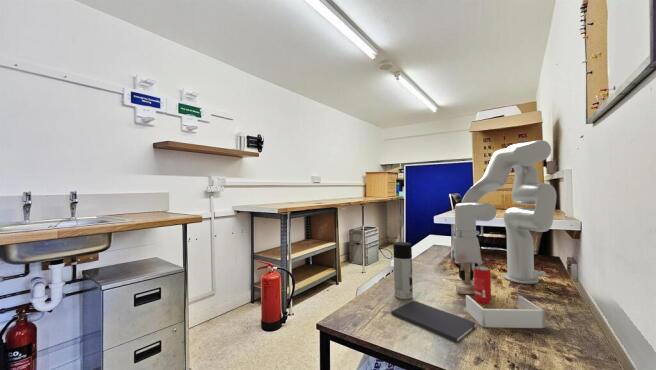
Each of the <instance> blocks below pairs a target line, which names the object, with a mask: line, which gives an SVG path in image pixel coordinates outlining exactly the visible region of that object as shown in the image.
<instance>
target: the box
mask: <svg viewBox="0 0 656 370" xmlns="http://www.w3.org/2000/svg"><path fill="white" fill-rule="evenodd" d="M517 301H518V302H517V303H518V305H517V306H518V309H517V308H483V307H482V306H481V304H480V303H478V302H476V300H475V299H473V298H472V297H471V296H470V294H465V311H466V312H467V313H468V314H469V315H470V316H471V317H472V318H473V320H475V321H476V323H478V324H479V325H480V326H481V327H482V328H502V329H503V328H504V329H505V328H506V329H507V328H508V329H509V328H510V329H511V328H512V329H515V328H516V329H517V328H518V329H519V328H520V329H546V310H545V309H543V308H541V307H539V306H538V305H536V304H534V303H533V302H531V301H530V300H528V299H527V298H525V297H523V296H522V295H517Z"/></svg>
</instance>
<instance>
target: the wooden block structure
mask: <svg viewBox="0 0 656 370" xmlns="http://www.w3.org/2000/svg"><path fill="white" fill-rule="evenodd" d="M463 269H464V271H465V281H463V280H462V279H460V284H455V291H456V293H457V294H461V295H462V294H463V295H464V294H465V295H471V294H472V295H474V283H472V282H471V280H470V263H464V267H463Z"/></svg>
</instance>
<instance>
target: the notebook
mask: <svg viewBox="0 0 656 370" xmlns="http://www.w3.org/2000/svg"><path fill="white" fill-rule="evenodd" d="M390 313H391V316H394V317H396V318H399V319H401V320H404V321H406V322H409V323H410V324H413V325H415V326H418V327H419V328H422V329H424V330H427V331H428V332H431V333H434V334H437V336H441V337H444V338H445V339H448V340H450V341H452V342H455V343H458V341H460V340H461V339H462V338H464V337H465V336H466V335H467V334H468V333H470V332H471V331H472V330H474V329H475V327H476V324H477V322H475V321H472V320H470V319H467V318H464V317H461V316H459V315H456V314H453V313H450V312H447V311H444V310H441V309H439V308H436V307H433V306H430V305H428V304H426V303H425V304H424V303H422V302H419V301H416V300H411V301H409V302H407V303H406V304H403V305H401V306H399V307H397V308H395V309H393V310H391V312H390Z"/></svg>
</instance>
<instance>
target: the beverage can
mask: <svg viewBox="0 0 656 370" xmlns="http://www.w3.org/2000/svg"><path fill="white" fill-rule="evenodd" d="M491 273H492V272H491V270H490V268H489V267H487V266H483V265H482V266H481V265H479V266H476V267H475V268H474V278H473V285H474V294H473V295H474V296H473V297H474V301H475V302H476V303H478V304H479V305H490V304H491V301H492V287H491V286H492V280H491V276H492V275H491Z"/></svg>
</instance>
